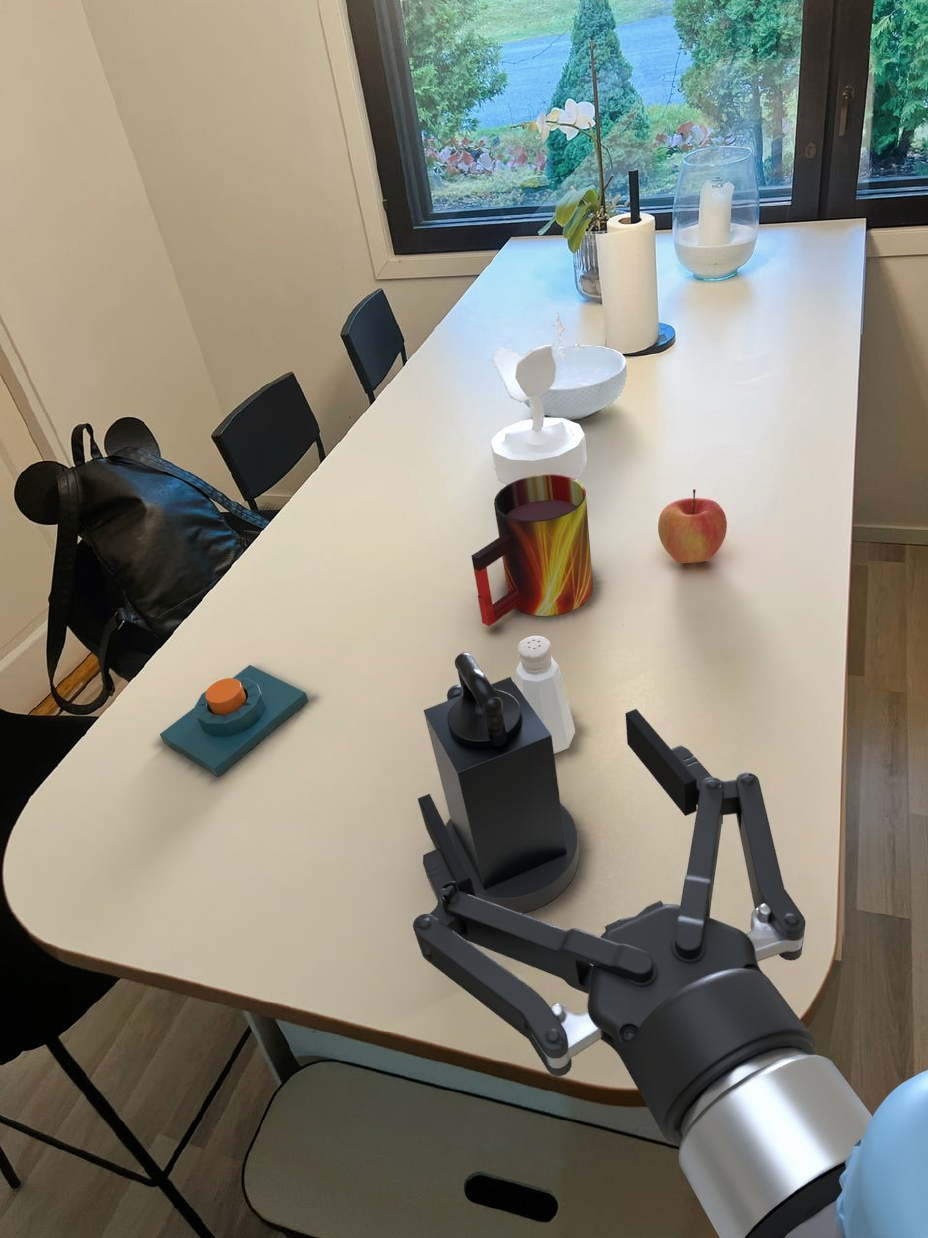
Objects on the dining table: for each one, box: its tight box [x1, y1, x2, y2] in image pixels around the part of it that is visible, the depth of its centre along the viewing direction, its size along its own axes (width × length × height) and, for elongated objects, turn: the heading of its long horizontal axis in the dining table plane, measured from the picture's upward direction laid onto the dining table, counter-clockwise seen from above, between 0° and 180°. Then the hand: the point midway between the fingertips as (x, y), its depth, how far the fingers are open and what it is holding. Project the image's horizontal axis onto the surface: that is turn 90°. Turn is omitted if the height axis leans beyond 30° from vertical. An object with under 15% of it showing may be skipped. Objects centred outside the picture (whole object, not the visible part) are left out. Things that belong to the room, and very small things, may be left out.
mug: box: [471, 475, 594, 628], centre depth 93 cm, size 10×14×12 cm
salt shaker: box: [515, 635, 577, 755], centre depth 77 cm, size 5×5×11 cm
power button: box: [205, 677, 246, 715], centre depth 87 cm, size 4×4×2 cm
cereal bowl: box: [523, 344, 628, 421], centre depth 132 cm, size 17×17×7 cm
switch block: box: [159, 664, 309, 778], centre depth 88 cm, size 12×9×3 cm
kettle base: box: [445, 802, 580, 914], centre depth 70 cm, size 11×11×2 cm
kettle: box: [423, 652, 567, 889], centre depth 66 cm, size 11×7×17 cm, turn 22°
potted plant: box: [490, 313, 588, 486], centre depth 106 cm, size 13×12×25 cm
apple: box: [657, 488, 728, 564], centre depth 96 cm, size 7×7×8 cm
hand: (532, 767), depth 53 cm, fingers open, 13 cm apart
